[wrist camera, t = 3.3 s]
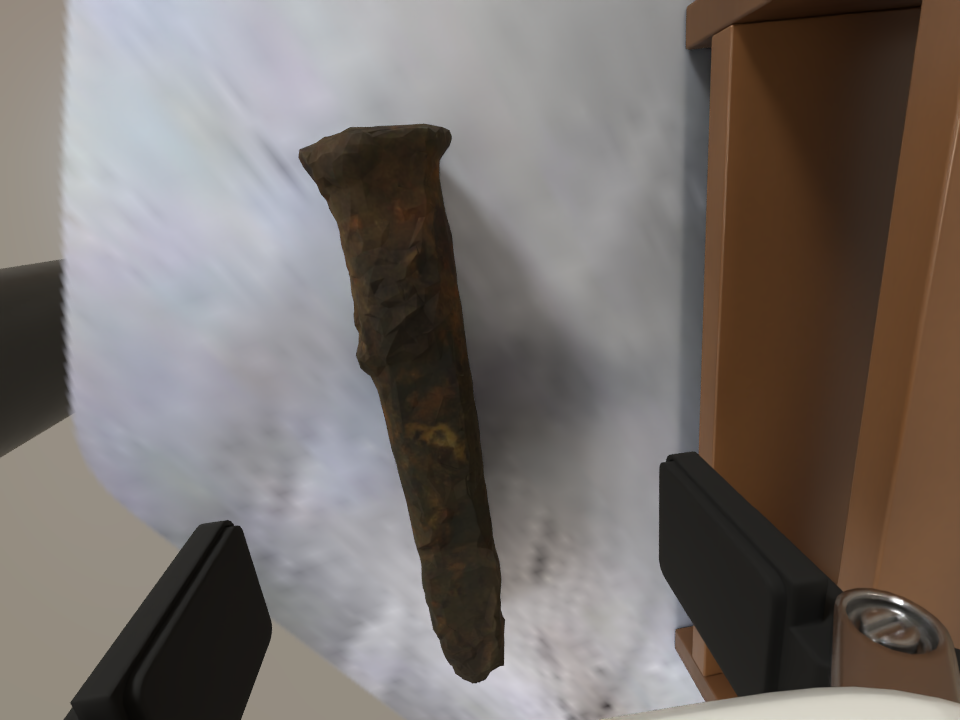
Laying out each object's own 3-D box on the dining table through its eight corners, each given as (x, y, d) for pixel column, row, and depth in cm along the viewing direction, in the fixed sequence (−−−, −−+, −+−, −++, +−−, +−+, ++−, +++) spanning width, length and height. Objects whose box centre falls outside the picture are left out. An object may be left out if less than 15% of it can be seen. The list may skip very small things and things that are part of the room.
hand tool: (317, 144, 15) (273, 122, 11) (446, 131, 15) (454, 104, 11) (409, 620, 21) (404, 730, 17) (500, 605, 21) (520, 708, 17)
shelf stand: (674, 648, 23) (819, 904, 15) (685, 6, 15) (1022, -245, 7) (852, 614, 24) (1089, 841, 15) (954, -19, 16) (1575, -278, 7)
